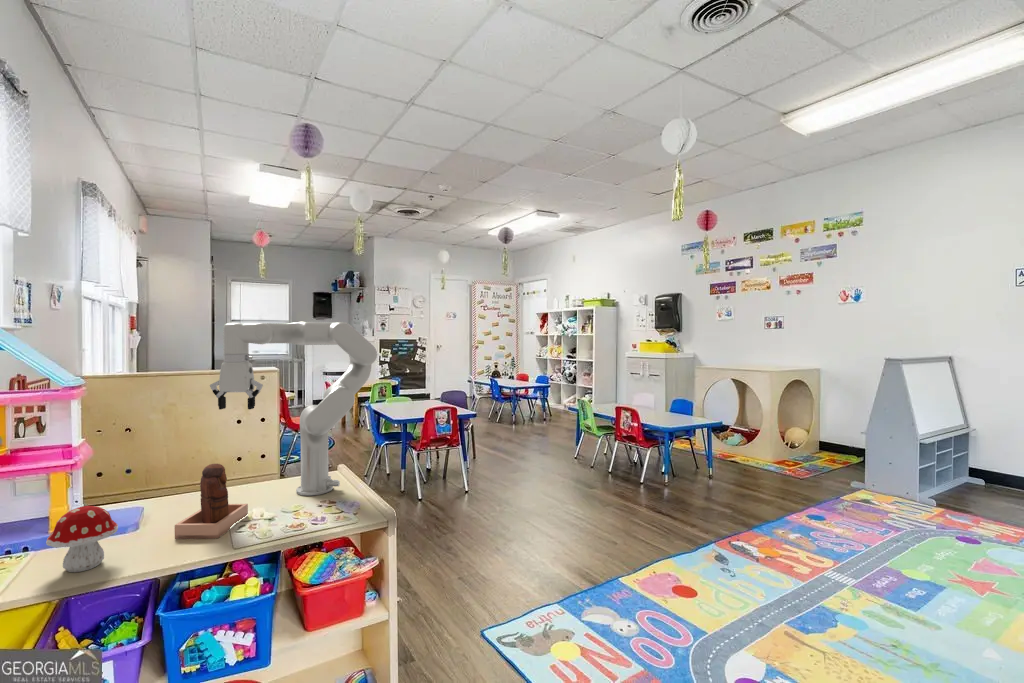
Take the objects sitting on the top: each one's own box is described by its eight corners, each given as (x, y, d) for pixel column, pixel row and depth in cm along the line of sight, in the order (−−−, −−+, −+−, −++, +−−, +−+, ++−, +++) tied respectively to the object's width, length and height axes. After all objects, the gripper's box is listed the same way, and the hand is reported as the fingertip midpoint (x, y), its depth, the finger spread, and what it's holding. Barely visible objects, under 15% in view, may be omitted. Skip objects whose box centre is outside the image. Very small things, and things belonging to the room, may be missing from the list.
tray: (247, 516, 157) (247, 503, 157) (217, 538, 140) (217, 524, 140) (209, 516, 157) (209, 503, 157) (174, 539, 140) (174, 525, 140)
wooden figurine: (233, 525, 147) (232, 465, 147) (208, 531, 142) (208, 469, 142) (220, 515, 155) (220, 458, 155) (197, 520, 151) (197, 462, 150)
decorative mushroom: (60, 559, 127) (59, 502, 127) (126, 550, 133) (126, 494, 132) (34, 585, 114) (33, 521, 114) (109, 573, 120) (108, 512, 120)
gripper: (267, 358, 173) (267, 407, 173) (216, 358, 172) (217, 407, 173) (256, 359, 165) (256, 410, 166) (204, 359, 165) (204, 410, 165)
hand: (236, 408), depth 169 cm, fingers open, 9 cm apart
